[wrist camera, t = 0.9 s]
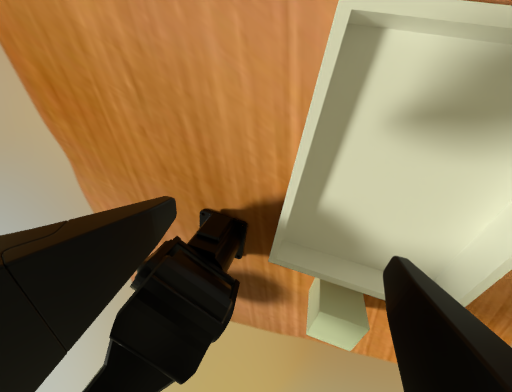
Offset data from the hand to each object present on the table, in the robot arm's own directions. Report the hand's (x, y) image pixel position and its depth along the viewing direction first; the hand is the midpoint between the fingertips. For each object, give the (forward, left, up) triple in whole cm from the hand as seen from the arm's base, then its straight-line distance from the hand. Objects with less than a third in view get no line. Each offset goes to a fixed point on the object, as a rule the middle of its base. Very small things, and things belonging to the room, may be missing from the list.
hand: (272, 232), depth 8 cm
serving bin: (-1, -9, -13) cm, 16 cm away
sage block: (-17, -9, -13) cm, 24 cm away
